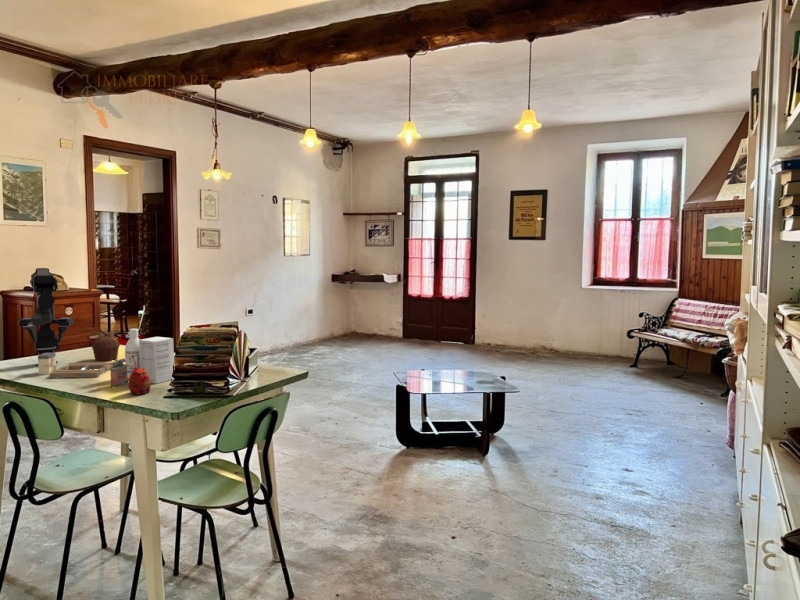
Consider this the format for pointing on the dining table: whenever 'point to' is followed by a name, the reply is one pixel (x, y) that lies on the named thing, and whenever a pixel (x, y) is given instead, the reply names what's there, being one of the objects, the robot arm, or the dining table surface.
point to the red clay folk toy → (139, 380)
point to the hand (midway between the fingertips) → (47, 342)
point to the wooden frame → (81, 370)
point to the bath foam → (132, 348)
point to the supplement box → (157, 358)
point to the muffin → (105, 349)
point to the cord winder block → (46, 363)
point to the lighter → (119, 373)
